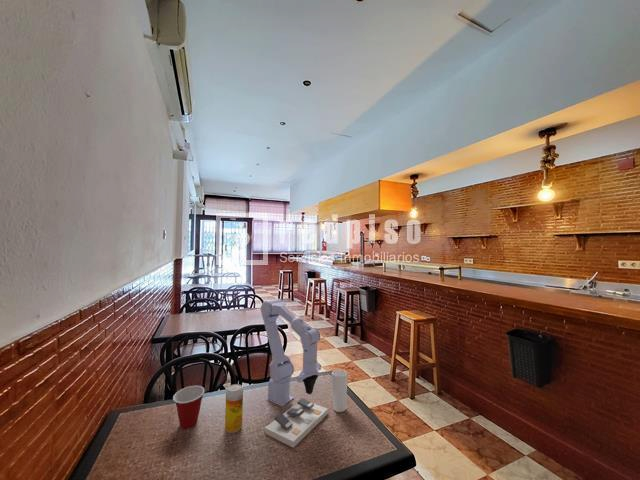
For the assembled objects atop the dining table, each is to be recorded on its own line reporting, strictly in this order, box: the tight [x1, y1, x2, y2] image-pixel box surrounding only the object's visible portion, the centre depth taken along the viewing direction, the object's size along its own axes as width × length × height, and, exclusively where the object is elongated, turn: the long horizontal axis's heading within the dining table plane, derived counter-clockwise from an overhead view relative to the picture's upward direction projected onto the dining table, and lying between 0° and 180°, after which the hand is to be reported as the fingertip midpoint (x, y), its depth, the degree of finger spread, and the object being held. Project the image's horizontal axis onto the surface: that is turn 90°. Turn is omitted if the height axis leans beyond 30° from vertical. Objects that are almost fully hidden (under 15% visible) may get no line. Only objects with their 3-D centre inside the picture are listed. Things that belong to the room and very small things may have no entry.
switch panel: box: [264, 402, 329, 448], centre depth 105 cm, size 13×23×2 cm, turn 148°
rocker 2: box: [286, 407, 304, 416], centre depth 106 cm, size 6×3×1 cm, turn 58°
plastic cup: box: [172, 385, 205, 430], centre depth 103 cm, size 11×11×12 cm
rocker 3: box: [296, 397, 315, 410], centre depth 112 cm, size 6×3×1 cm, turn 58°
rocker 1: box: [274, 412, 293, 431], centre depth 100 cm, size 6×3×1 cm, turn 57°
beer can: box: [224, 383, 244, 434], centre depth 101 cm, size 6×6×15 cm
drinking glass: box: [331, 369, 348, 413], centre depth 115 cm, size 7×7×15 cm
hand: (309, 393), depth 111 cm, fingers closed
